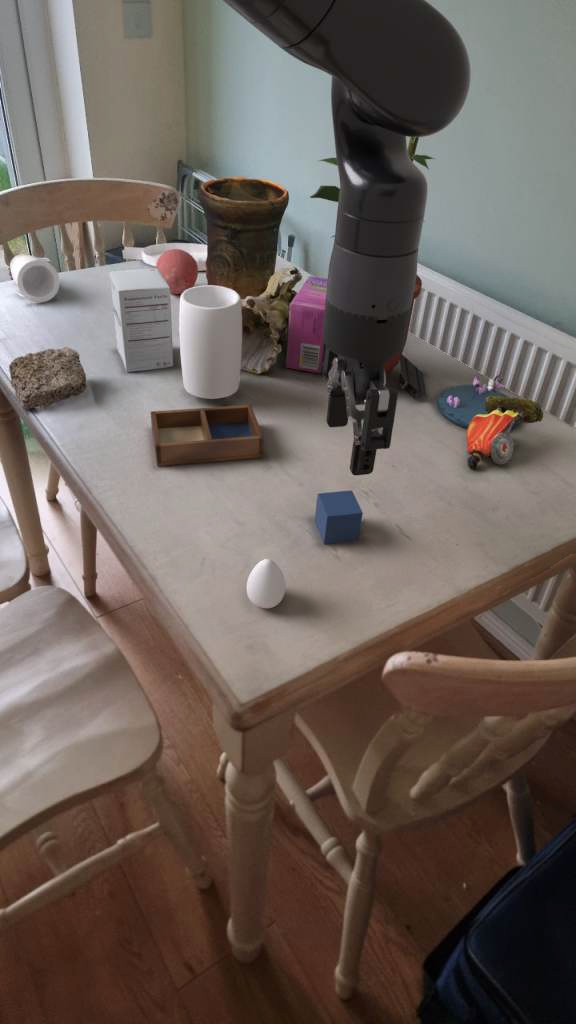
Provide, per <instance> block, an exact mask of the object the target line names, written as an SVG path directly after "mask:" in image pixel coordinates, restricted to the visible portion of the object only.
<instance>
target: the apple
mask: <svg viewBox="0 0 576 1024" xmlns="http://www.w3.org/2000/svg"><path fill="white" fill-rule="evenodd" d="M155 268H158V269H159V271H160V272H161V274H162V276H163V277H164V279H165V281H166V282H167V284H168V285H169V287H170V294H175V295H181V294H182V293H183V292H184V291H185V290H187V289H189V288H192V287H195V284H196V281H197V280H198V275H199V271H198V265H197V263H196V260H195V259H194V258H193V257H192V255H190V254H189V253H187V252H186V251H184V250H180V249H171V250H168V251H166V252H164V253H163V254H162V255H161V256H160V257H159V258H158V261H157V264H156V267H155Z"/></svg>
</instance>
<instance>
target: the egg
mask: <svg viewBox="0 0 576 1024" xmlns="http://www.w3.org/2000/svg"><path fill="white" fill-rule="evenodd" d="M279 566H280V565H278V564H277V562H275V561H274V560H273V559H271V558H263V559H262V560H261V561H259V562H258V563H257V564H256V565H255V566H254V567H253V569H251V572H250V574H249V576H248V578H247V581H246V594H247V598H248V599H249V601H250V602H251V603H252V604H253V605H254V606H257V607H259V608H263V609H271V608H274V607H276V606H278V605H279V604H280V603H281V601H283V598H284V596H285V593H286V579H285V576H284V573H283V571H282V569H281V567H279Z"/></svg>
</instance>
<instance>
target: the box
mask: <svg viewBox="0 0 576 1024" xmlns="http://www.w3.org/2000/svg"><path fill="white" fill-rule="evenodd" d="M327 281H328V278H324V277H318V276H313V275H309V276H308V277H307V278H306V280H305V281H304V283H303V285H302V286H301V287H300V288H299V290H298V291H297V295H296V296H295V298H294V299H293V301H292V302H291V303H290V312H289V327H288V331H287V345H286V346H287V347H286V360H285V368H287V369H293V370H298V371H303V372H310V373H315V374H322V373H323V367H324V359H325V351H326V345H325V344H324V342H323V339H322V333H323V323H324V312H325V302H326V291H327Z"/></svg>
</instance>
